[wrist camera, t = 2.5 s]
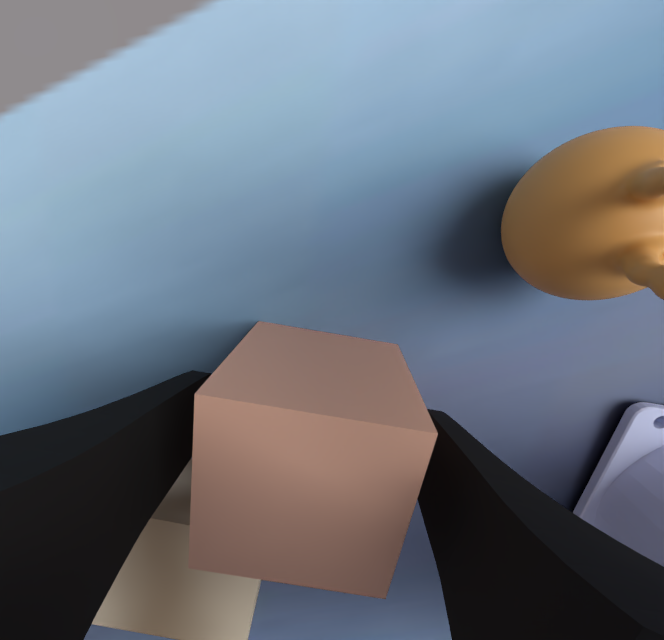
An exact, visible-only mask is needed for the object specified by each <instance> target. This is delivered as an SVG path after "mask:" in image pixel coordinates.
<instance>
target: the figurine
mask: <svg viewBox="0 0 664 640" xmlns="http://www.w3.org/2000/svg"><path fill="white" fill-rule="evenodd" d="M501 239H502V245H503V249H504V252H505V255H506V257H507V259H508V261H509V263H510V264H511V266H512V267H513V269H514V270H515V271H516V272H517V273H518V274H519V275H520V276H521V277H522V278H523V279H524V280H525V281H526V282H528V283H529V284H531V285H532V286H534V287H535V288H537V289H539V290H541V291H543V292H546V293H548V294H551V295H554V296H558V297H562V298H567V299H574V300H601V299H609V298H615V297H619V296H624V295H627V294H631V293H634V292H637V291H639V290H642V289H644V288H647V287H649V288H651V290H652V291H653V292H654V293H655V294H656V295H657V296H658V297H660V298H661V299H663V300H664V130H661V129H657V128H651V127H643V126H623V127H614V128H607V129H603V130H598V131H595V132H591V133H588V134H585V135H582V136H580V137H577V138H575V139H572V140H570V141H568V142H566V143H564V144H562V145H561V146H559V147H557V148H555V149H554V150H552V151H551V152H549V153H548V154H547V155H545V156H544V157H543V158H541V159H540V160H539V161H538V162H537V163H535V164H534V165H533V166H532V167H531V168H530V169H529V170H528V171H527V172H526V173H525V175H524V176H523V177H522V178H521V179H520V181H519V182H518V183H517V185H516V186H515V188H514V190H513V191H512V193H511V195H510V197H509V199H508V201H507V204H506V206H505V209H504V213H503V217H502V223H501Z"/></svg>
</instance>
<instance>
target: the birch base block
mask: <svg viewBox="0 0 664 640" xmlns="http://www.w3.org/2000/svg"><path fill="white" fill-rule="evenodd" d="M191 478H192V459H190V461H189V462H188V464H187V465H186V467H185V468H184V470H183V471H182V473H181V474H180V476H179V477H178V478H177V480H176V481H175V483H174V484H173V486H172V487H171V489H170V490H169V492H168V493H167V495H166V496H165V498H164V499H163V501H162V502H161V503H160V505H159V506H158V508H157V509H156V511H155V512H154V514H153V515H152V517H151V518H150V520H149V521H148V523H147V524H146V526H145V528H144V529H143V531H142V532H141V534H140V536H139V537H138V539H137V541H136V543H135V544H134V546H133V548H132V550H131V552H130V553H129V555H128V557H127V559H126V561H125V562H124V564H123V566H122V568H121V570H120V571H119V573H118V575H117V577H116V579H115V581H114V582H113V584H112V586H111V588H110V590H109V592H108V594H107V595H106V597H105V599H104V601H103V603H102V605H101V607H100V609H99V610H98V612H97V614H96V616H95V618H94V620H93V622H92V624H93V625H99V626H105V627H110V628H116V629H121V630H127V631H133V632H138V633H144V634H150V635H155V636H161V637H166V638H172V639H178V640H248V636H249V632H250V628H251V623H252V619H253V615H254V610H255V606H256V601H257V597H258V593H259V588H260V584H261V580H260V579H253V578H247V577H240V576H234V575H227V574H221V573H215V572H208V571H202V570H195V569H189V568H188V560H189V533H190V506H191Z"/></svg>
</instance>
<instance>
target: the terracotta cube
mask: <svg viewBox="0 0 664 640" xmlns="http://www.w3.org/2000/svg"><path fill="white" fill-rule="evenodd" d="M437 435H438V433H437V430H436V428H435V426H434V424H433V422H432V419H431V417H430V415H429V413H428V410H427V408H426V406H425V404H424V402H423V399H422V397H421V395H420V393H419V390H418V388H417V386H416V384H415V382H414V379H413V377H412V375H411V373H410V371H409V368H408V366H407V364H406V362H405V359H404V357H403V355H402V353H401V351H400V348H399V346H398V344H392V343H386V342H380V341H374V340H368V339H362V338H357V337H351V336H345V335H339V334H333V333H327V332H321V331H315V330H309V329H303V328H297V327H291V326H285V325H279V324H273V323H267V322H261V321H258V322H257V323H256V324H255V326H254V327H253V328H252V329H251V330H250V331H249V332H248V334H247V335H246V336H245V337H244V338H243V339H242V340H241V342H240V343H239V344H238V345H237V346H236V347H235V348H234V350H233V351H232V352H231V353H230V354H229V355H228V356H227V357H226V359H225V360H224V361H223V362H222V363H221V364H220V365H219V367H218V368H217V369H216V370H215V371H214V372H213V373H212V375H211V376H210V377H209V378H208V379H207V380H206V381H205V383H204V384H203V385H202V386H201V387H200V388H199V389H198V391H197V392H196V393H195V396H194V424H193V451H192V478H191V506H190V533H189V560H188V568H189V569H195V570H202V571H208V572H215V573H221V574H227V575H234V576H240V577H247V578H253V579H260V580H266V581H272V582H279V583H285V584H292V585H298V586H304V587H311V588H317V589H324V590H330V591H337V592H343V593H349V594H356V595H362V596H369V597H375V598H382V599H386V596H387V593H388V590H389V586H390V583H391V580H392V577H393V574H394V571H395V567H396V564H397V561H398V558H399V555H400V552H401V549H402V545H403V542H404V539H405V536H406V533H407V530H408V527H409V523H410V520H411V517H412V514H413V511H414V508H415V505H416V501H417V498H418V495H419V492H420V489H421V486H422V483H423V479H424V476H425V473H426V470H427V467H428V464H429V461H430V457H431V454H432V451H433V448H434V445H435V442H436V438H437Z"/></svg>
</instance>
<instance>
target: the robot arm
mask: <svg viewBox="0 0 664 640" xmlns="http://www.w3.org/2000/svg"><path fill="white" fill-rule="evenodd" d="M210 376H211V373H205V372H198V371H190V372H187V373H184V374H181V375H179V376H176V377H174V378H172V379H169V380H167V381H165V382H162V383H160V384H157V385H155V386H153V387H150V388H148V389H146V390H143V391H141V392H138V393H136V394H133V395H131V396H128V397H126V398H123V399H120V400H118V401H115V402H112V403H110V404H107V405H104V406H102V407H99V408H96V409H93V410H91V411H88V412H85V413H82V414H78V415H75V416H72V417H69V418H65V419H62V420H59V421H55V422H52V423H49V424H45V425H41V426H37V427H33V428H29V429H25V430H21V431H17V432H13V433H9V434H5V435H1V436H0V640H83V639H84V637H85V635H86V633H87V631H88V630H89V628H90V626H91V624H92V622H93V620H94V618H95V616H96V614H97V612H98V610H99V609H100V607H101V605H102V603H103V601H104V599H105V597H106V595H107V594H108V592H109V590H110V588H111V586H112V584H113V582H114V581H115V579H116V577H117V575H118V573H119V571H120V570H121V568H122V566H123V564H124V562H125V561H126V559H127V557H128V555H129V553H130V552H131V550H132V548H133V546H134V544H135V543H136V541H137V539H138V537H139V536H140V534H141V532H142V531H143V529H144V528H145V526H146V524H147V523H148V521H149V520H150V518H151V517H152V515H153V514H154V512H155V511H156V509H157V508H158V506H159V505H160V503H161V502H162V501H163V499H164V498H165V496H166V495H167V493H168V492H169V490H170V489H171V487H172V486H173V484H174V483H175V481H176V480H177V478H178V477H179V476H180V474H181V473H182V471H183V470H184V468H185V467H186V465H187V464H188V462H189V461H190V459H191V458H192V451H193V424H194V396H195V393H196V392H197V391H198V389H199V388H200V387H201V386H202V385H203V384H204V383H205V381H206V380H207V379H208V378H209V377H210ZM427 410H428V413H429V415H430V417H431V419H432V422H433V424H434V426H435V428H436V430H437V433H438V435H437V438H436V442H435V445H434V448H433V451H432V454H431V457H430V461H429V464H428V467H427V470H426V473H425V476H424V479H423V483H422V486H421V489H420V492H419V495H418V502H419V505H420V509H421V512H422V516H423V519H424V523H425V526H426V530H427V533H428V537H429V540H430V544H431V547H432V550H433V554H434V557H435V561H436V564H437V568H438V572H439V576H440V580H441V585H442V590H443V595H444V600H445V605H446V610H447V615H448V620H449V625H450V631H451V637H452V640H664V405H659V404H653V403H647V402H638V403H635V404H632V405H631V406H629V407H628V408H627V410H626V411H625V413H624V414H623V416H622V418H621V420H620V422H619V424H618V426H617V428H616V430H615V432H614V434H613V436H612V438H611V440H610V442H609V443H608V445H607V447H606V449H605V451H604V453H603V455H602V457H601V459H600V461H599V463H598V465H597V467H596V469H595V470H594V472H593V474H592V476H591V478H590V480H589V482H588V484H587V486H586V488H585V490H584V492H583V494H582V496H581V497H580V499H579V501H578V503H577V505H576V507H575V509H574V511H573V513H572V512H570V511H569V510H567V509H566V508H564V507H563V506H562V505H560V504H559V503H557V502H556V501H554V500H553V499H551V498H550V497H549V496H547V495H546V494H544V493H543V492H541V491H540V490H539V489H537V488H536V487H534V486H533V485H532V484H530V483H529V482H528V481H526V480H525V479H524V478H523V477H521V476H520V475H519V474H517V473H516V472H515V471H514V470H512V469H511V468H510V467H509V466H507V465H506V464H505V463H504V462H502V461H501V460H500V459H499V458H497V457H496V456H495V455H494V454H493V453H491V452H490V451H489V450H488V449H487V448H486V447H484V446H483V445H482V444H481V443H480V442H479V441H478V440H476V439H475V438H474V437H473V436H472V435H471V434H469V433H468V432H467V431H466V430H465V429H464V428H463V427H461V426H460V425H459V424H458V423H457V422H456V421H454V420H453V419H452V418H451V417H450V416H448V415H447V414H446V413H444V412H442V411H436V410H430V409H427Z"/></svg>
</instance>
